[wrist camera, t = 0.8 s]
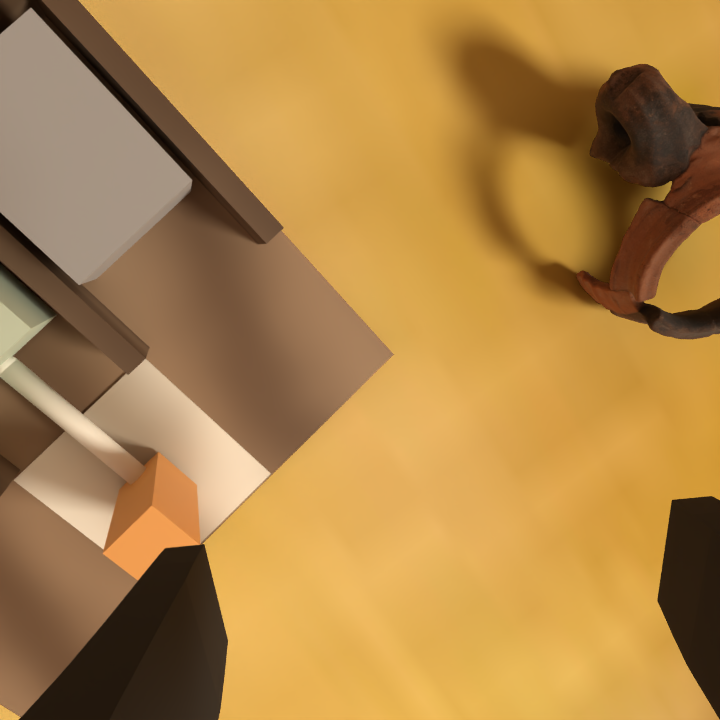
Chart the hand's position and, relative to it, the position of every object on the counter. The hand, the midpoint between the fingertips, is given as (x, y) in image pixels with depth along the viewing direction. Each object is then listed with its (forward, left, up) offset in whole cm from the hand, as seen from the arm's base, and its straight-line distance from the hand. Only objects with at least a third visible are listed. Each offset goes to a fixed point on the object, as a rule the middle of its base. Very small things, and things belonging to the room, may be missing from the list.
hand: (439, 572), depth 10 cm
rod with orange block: (-6, +6, -15) cm, 18 cm away
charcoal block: (0, +10, -17) cm, 20 cm away
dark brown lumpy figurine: (+17, -6, -17) cm, 25 cm away
